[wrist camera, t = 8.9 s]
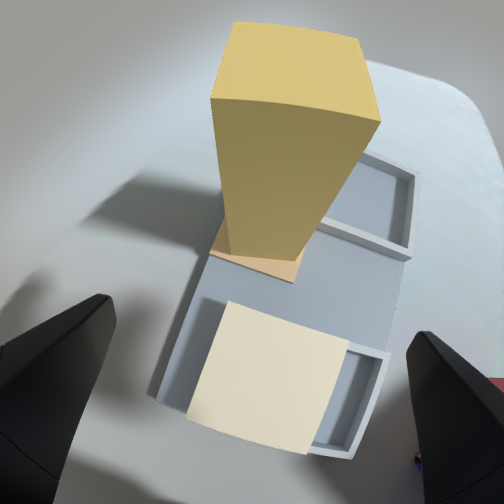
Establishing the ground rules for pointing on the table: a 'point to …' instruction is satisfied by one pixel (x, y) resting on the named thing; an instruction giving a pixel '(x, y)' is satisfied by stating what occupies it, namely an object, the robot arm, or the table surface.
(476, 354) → the table surface
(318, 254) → the puzzle board
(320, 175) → the block
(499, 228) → the table surface
